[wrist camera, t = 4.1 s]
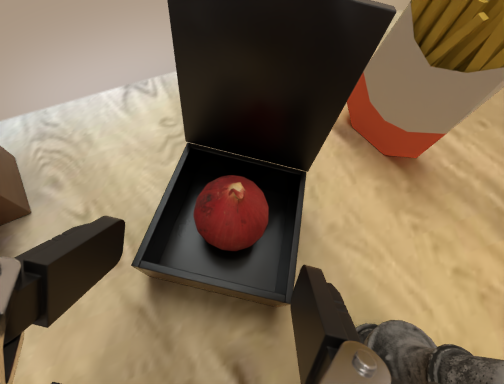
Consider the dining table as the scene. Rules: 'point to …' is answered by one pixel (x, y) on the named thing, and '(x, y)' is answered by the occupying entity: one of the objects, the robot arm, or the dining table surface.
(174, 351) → the dining table surface
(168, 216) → the box
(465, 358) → the grey chess piece
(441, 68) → the french fries container
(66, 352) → the dining table surface
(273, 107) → the box lid
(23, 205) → the pedestal
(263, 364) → the dining table surface
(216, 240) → the pomegranate
